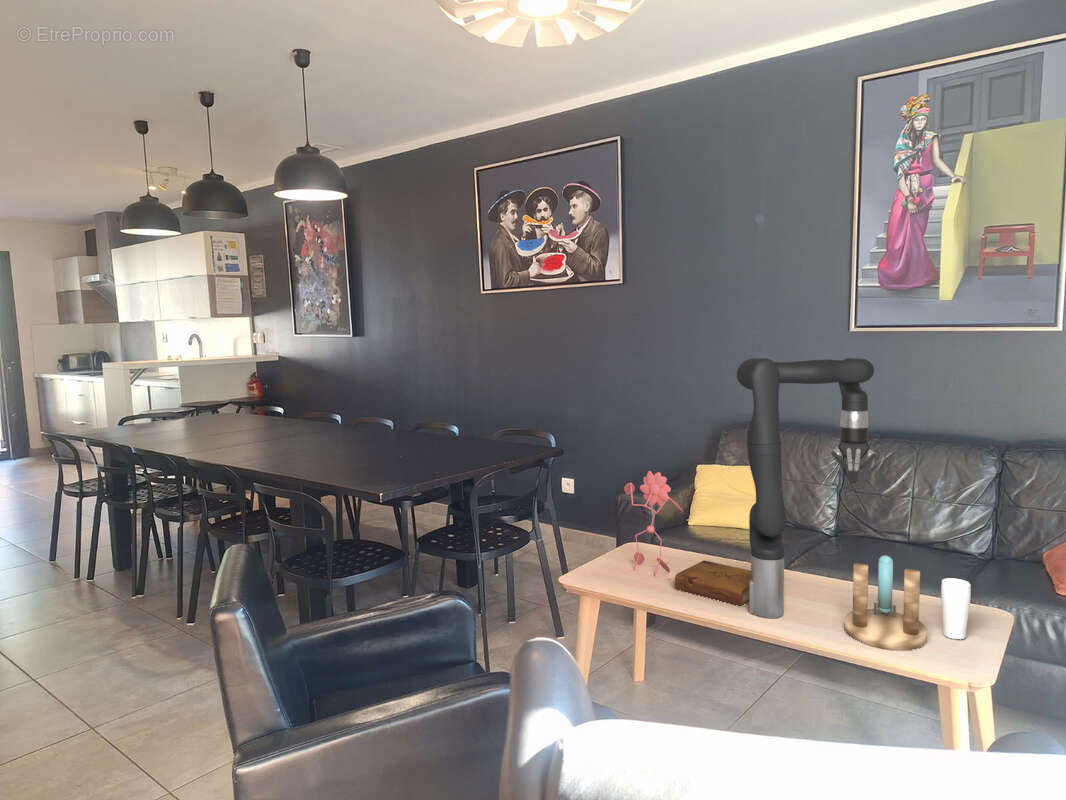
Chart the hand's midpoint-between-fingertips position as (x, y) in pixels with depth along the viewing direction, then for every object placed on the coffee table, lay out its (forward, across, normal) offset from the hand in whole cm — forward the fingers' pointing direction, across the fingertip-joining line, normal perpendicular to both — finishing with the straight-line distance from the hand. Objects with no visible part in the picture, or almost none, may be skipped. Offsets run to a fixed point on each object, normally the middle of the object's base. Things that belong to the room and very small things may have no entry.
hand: (853, 482), depth 208 cm
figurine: (+37, -63, +7) cm, 73 cm away
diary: (+38, -38, -5) cm, 54 cm away
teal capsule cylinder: (+34, +9, -14) cm, 38 cm away
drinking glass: (+37, +26, -15) cm, 48 cm away
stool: (+37, +9, -21) cm, 43 cm away
